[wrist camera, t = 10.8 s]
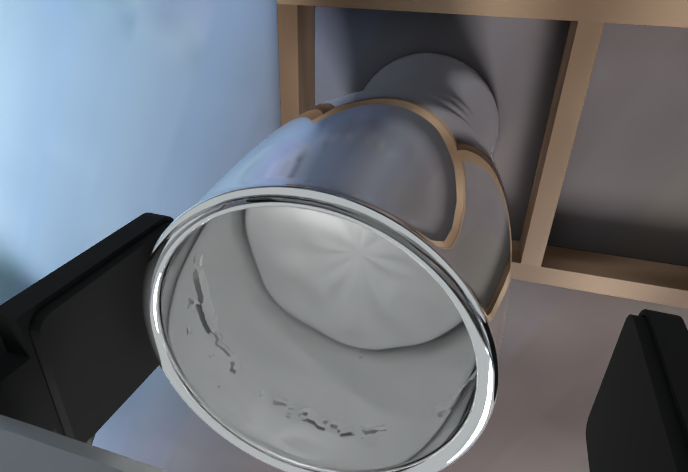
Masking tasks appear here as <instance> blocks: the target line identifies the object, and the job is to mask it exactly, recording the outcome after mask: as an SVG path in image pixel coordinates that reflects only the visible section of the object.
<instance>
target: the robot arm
mask: <svg viewBox="0 0 688 472" xmlns="http://www.w3.org/2000/svg"><path fill="white" fill-rule="evenodd" d="M173 221H174V220H173V218H171V217H169V216H164V215H159V214H153V213H144V214H142V215H141V216H139V217H138V218H136V219H134V220H133V221H131V222H130V223H128V224H127V225H125V226H124V227H122V228H120V229H119V230H117V231H116V232H114V233H113V234H111V235H109V236H108V237H106V238H105V239H103V240H102V241H100V242H99V243H97V244H95V245H94V246H92V247H91V248H89V249H88V250H86V251H85V252H83V253H81V254H80V255H78V256H77V257H75V258H74V259H72V260H70V261H69V262H67V263H66V264H64V265H63V266H61V267H60V268H58V269H56V270H55V271H53V272H52V273H50V274H49V275H47V276H46V277H44V278H42V279H41V280H39V281H38V282H36V283H35V284H33V285H31V286H30V287H28V288H27V289H25V290H24V291H22V292H21V293H19V294H17V295H16V296H14V297H13V298H11V299H10V300H8V301H7V302H5V303H3V304H2V305H0V472H168V471H165V470H162V469H159V468H156V467H153V466H150V465H148V464H145V463H142V462H139V461H136V460H133V459H130V458H127V457H124V456H121V455H118V454H116V453H113V452H110V451H107V450H104V449H101V448H98V447H95V446H92V445H89V444H86V443H85V442H87V441H88V440H89V439H90V438H92V436H93V435H94V434H95V433H96V432H97V431H98V430H99V429H100V428H101V427H102V426H103V425H104V424H105V422H106V421H107V420H108V419H109V418H110V417H111V416H112V415H113V414H114V413H115V412H116V411H117V410H118V409H119V407H120V406H121V405H122V404H123V403H124V402H125V401H126V400H127V399H128V398H129V397H130V396H131V395H132V394H133V392H134V391H135V390H136V389H137V388H138V387H139V386H140V385H141V384H142V383H143V382H144V381H145V380H146V378H147V377H148V376H149V375H150V374H151V373H152V372H153V371H154V370H155V369H156V368H157V367H158V366H159V363H158V361H157V359H156V357H155V355H154V352H153V350H152V347H151V345H150V342H149V339H148V336H147V332H146V329H145V324H144V319H143V312H142V284H143V277H144V272H145V268H146V265H147V262H148V259H149V256H150V254H151V252H152V250H153V248H154V246H155V244H156V243H157V241H158V239H159V238H160V236H161V235H162V234H163V232H164V231H165V230H166V229H167V227H168V226H169V225H170V224H171V223H172V222H173ZM586 442H587V451H588V460H589V469H590V472H688V330H687V328H686V325H685V323H684V321H683V319H682V318H681V317H680V316H678V315H672V314H667V313H662V312H657V311H652V310H647V309H644V310H642V311H641V312H640V313H639V315H638V316H636V315H631V314H630V315H629V316H628V317H627V318H626V321H625V323H624V326H623V328H622V331H621V333H620V336H619V339H618V341H617V344H616V347H615V349H614V352H613V354H612V357H611V360H610V362H609V365H608V368H607V370H606V373H605V375H604V378H603V381H602V383H601V386H600V388H599V391H598V394H597V396H596V399H595V402H594V404H593V407H592V409H591V412H590V415H589V418H588V421H587V427H586Z"/></svg>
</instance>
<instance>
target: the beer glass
mask: <svg viewBox="0 0 688 472" xmlns="http://www.w3.org/2000/svg"><path fill="white" fill-rule="evenodd" d="M498 133H499V115H498V109H497V105H496V102H495V99H494V97H493V94H492V92H491V91H490V89H489V87H488V86H487V84H486V83H485V81H484V80H483V79H482V78H481V77H480V75H479V74H478V73H477V72H475V71H474V70H473V69H472V68H471V67H469V66H468V65H466V64H465V63H463V62H461V61H459V60H457V59H455V58H452V57H449V56H446V55H442V54H436V53H418V54H412V55H408V56H405V57H402V58H399V59H397V60H395V61H393V62H391V63H389V64H388V65H386V66H385V67H384V68H382V69H381V70H380V71H379V72H377V73H376V74H375V75H374V76H373V77H372V79H371V80H370V81H369V82H368V84H367V85H366V86H365V88H364V89H363V91H358V92H354V93H350V94H347V95H344V96H341V97H338V98H335V99H332V100H329V101H326V102H324V103H321V104H319V105H317V106H314V107H313V108H311V109H309V110H307V111H305V112H304V113H302V114H300V115H299V116H297V117H296V118H294V119H292V120H291V121H289V122H287V123H286V124H284V125H283V126H281V127H280V128H278V129H277V130H275V131H274V132H273V133H271V134H270V135H269V136H268V137H267V138H265V139H264V140H263V141H262V142H260V143H259V144H258V145H257V146H255V147H254V148H253V149H252V150H251V151H249V152H248V153H247V154H246V155H245V156H244V157H243V158H241V159H240V160H239V161H238V162H237V163H236V164H235V165H234V166H233V167H232V168H231V169H230V170H229V171H228V172H227V173H226V174H225V175H224V176H223V177H222V178H221V179H219V180H218V181H217V183H216V184H215V185H214V186H213V187H212V188H211V189H210V190H209V191H208V192H207V193H206V194H205V195H204V196H203V197H202V198H201V199H200V200H199V201H198V202H197V203H196V204H195V205H194V206H192V207H191V208H189V209H188V210H186V211H185V212H184V213H182V214H181V215H180V216H179V217H177V218H176V219H175V220H174V221H173V222H172V223H171V224H170V225H169V226H168V227H167V229H166V230H165V231H164V232H163V234H162V235H161V236H160V238H159V239H158V241H157V243H156V244H155V246H154V248H153V250H152V252H151V254H150V256H149V259H148V262H147V265H146V268H145V272H144V277H143V284H142V312H143V319H144V324H145V329H146V332H147V336H148V339H149V342H150V345H151V347H152V350H153V352H154V355H155V357H156V359H157V361H158V363H159V365H160V367H161V369H162V370H163V372H164V374H165V375H166V377H167V379H168V380H169V382H170V383H171V385H172V386H173V387H174V389H175V390H176V391H177V393H178V394H179V395H180V397H181V398H182V399H183V400H184V401H185V403H186V404H187V405H188V406H189V407H190V408H191V409H192V410H193V411H194V412H195V413H196V414H197V415H198V416H199V417H200V418H201V419H202V420H203V421H204V422H205V423H206V424H207V425H208V426H210V427H211V428H212V429H213V430H214V431H216V432H217V433H218V434H219V435H221V436H222V437H223V438H225V439H226V440H227V441H229V442H230V443H232V444H233V445H235V446H236V447H238V448H239V449H241V450H243V451H244V452H246V453H248V454H249V455H251V456H253V457H255V458H257V459H259V460H261V461H263V462H265V463H267V464H269V465H271V466H273V467H275V468H278V469H280V470H283V471H285V472H438V471H440V470H442V469H444V468H446V467H447V466H449V465H450V464H452V463H453V462H455V461H456V460H457V459H459V458H460V457H461V456H462V455H464V454H465V453H466V452H467V451H468V450H469V449H470V448H471V447H472V446H473V445H474V443H475V442H476V441H477V440H478V438H479V437H480V436H481V434H482V433H483V431H484V429H485V428H486V426H487V424H488V422H489V420H490V417H491V415H492V412H493V409H494V406H495V402H496V399H497V393H498V386H499V359H500V352H501V346H502V340H503V335H504V329H505V322H506V315H507V308H508V300H509V293H510V279H511V261H512V240H511V227H510V214H509V207H508V201H507V197H506V193H505V190H504V187H503V183H502V180H501V177H500V174H499V171H498V168H497V165H496V163H495V161H494V158H493V156H492V153H493V150H494V148H495V145H496V142H497V138H498Z"/></svg>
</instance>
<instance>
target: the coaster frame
mask: <svg viewBox="0 0 688 472" xmlns="http://www.w3.org/2000/svg"><path fill="white" fill-rule="evenodd" d="M315 6H324V7H341V8H359V9H376V10H393V11H411V12H428V13H445V14H463V15H480V16H498V17H515V18H532V19H550V20H567V21H571V22H570V26H569V30H568V35H567V39H566V43H565V48H564V52H563V56H562V61H561V65H560V69H559V74H558V78H557V82H556V87H555V91H554V95H553V100H552V104H551V108H550V113H549V117H548V121H547V126H546V130H545V134H544V139H543V143H542V147H541V152H540V156H539V160H538V165H537V169H536V173H535V178H534V182H533V186H532V191H531V195H530V199H529V204H528V208H527V212H526V217H525V221H524V225H523V230H522V234H521V238H520V241H517V240H512V261H511V278H512V279H518V280H524V281H530V282H536V283H541V284H547V285H553V286H559V287H565V288H570V289H576V290H582V291H588V292H594V293H600V294H605V295H611V296H617V297H623V298H629V299H635V300H640V301H646V302H652V303H658V304H664V305H670V306H675V307H681V308H687V309H688V267H685V266H679V265H672V264H666V263H659V262H653V261H647V260H640V259H634V258H627V257H621V256H614V255H608V254H601V253H595V252H588V251H582V250H575V249H569V248H562V247H556V246H550V245H547V241H548V238H549V234H550V230H551V226H552V222H553V219H554V215H555V211H556V207H557V203H558V199H559V196H560V192H561V188H562V184H563V180H564V177H565V173H566V169H567V165H568V161H569V158H570V154H571V150H572V146H573V142H574V139H575V135H576V131H577V127H578V123H579V119H580V116H581V112H582V108H583V104H584V100H585V97H586V93H587V89H588V85H589V81H590V78H591V74H592V70H593V66H594V62H595V59H596V55H597V51H598V47H599V43H600V39H601V36H602V32H603V28H604V24H605V23H619V24H637V25H654V26H671V27H688V0H277V17H278V46H279V75H280V104H281V126H283V125H284V124H286V123H287V122H289V121H291V120H292V119H294V118H296V117H297V116H299V115H300V114H302V113H304V112H305V111H307V110H309V109H311V108H313V107H314V106H315Z"/></svg>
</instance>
